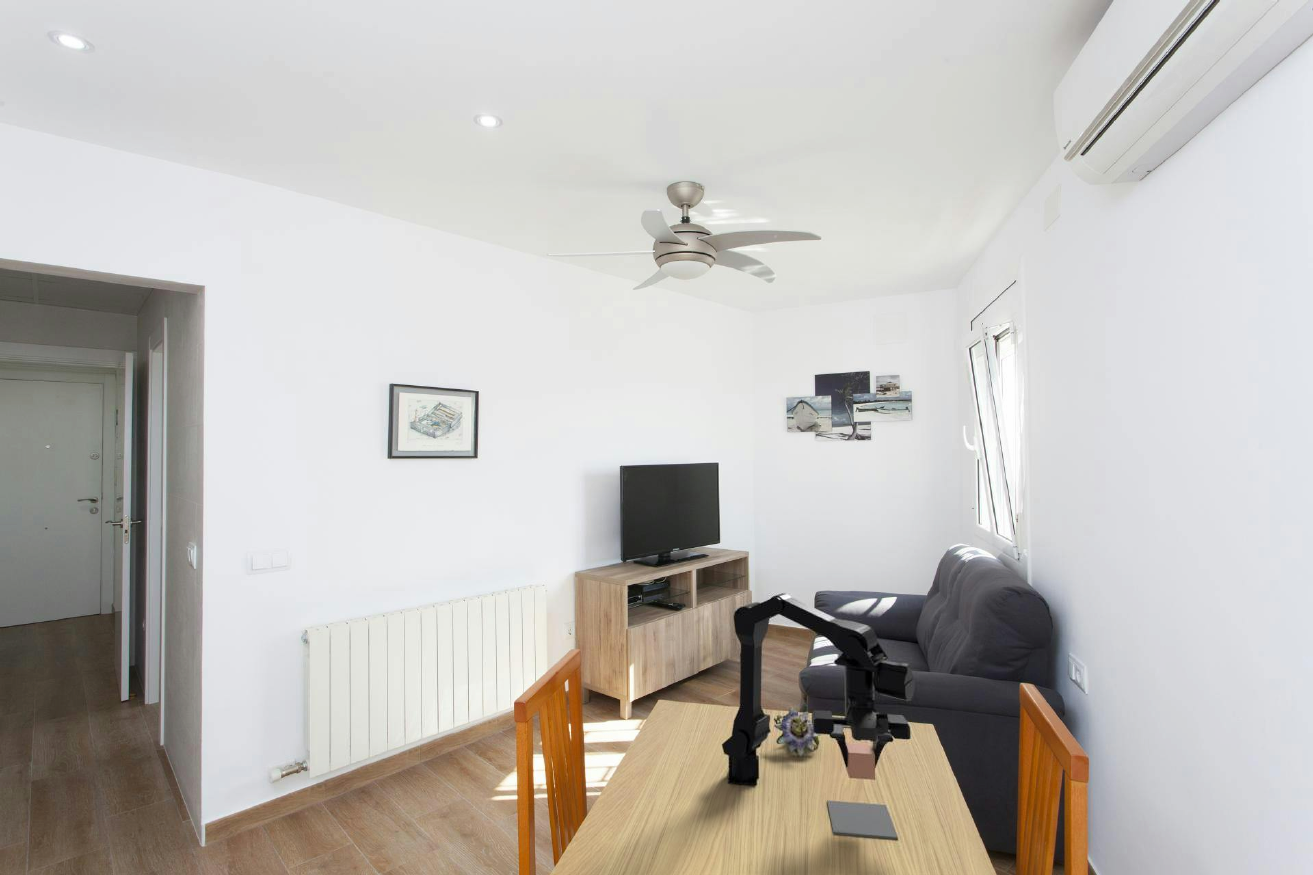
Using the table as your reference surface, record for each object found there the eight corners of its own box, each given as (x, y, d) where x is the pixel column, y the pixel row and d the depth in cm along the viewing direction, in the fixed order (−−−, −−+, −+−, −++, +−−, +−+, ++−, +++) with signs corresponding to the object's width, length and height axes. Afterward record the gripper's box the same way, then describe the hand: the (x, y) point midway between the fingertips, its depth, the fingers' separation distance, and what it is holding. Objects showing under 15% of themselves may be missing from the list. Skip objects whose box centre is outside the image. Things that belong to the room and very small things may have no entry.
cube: (849, 777, 131) (848, 752, 131) (845, 766, 136) (845, 741, 136) (875, 779, 130) (874, 754, 131) (870, 768, 135) (870, 743, 135)
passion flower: (800, 777, 162) (778, 744, 158) (779, 750, 172) (758, 718, 169) (835, 748, 164) (814, 714, 160) (812, 723, 174) (792, 691, 171)
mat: (833, 833, 128) (833, 831, 128) (827, 802, 140) (827, 800, 140) (898, 839, 126) (898, 837, 126) (885, 806, 138) (885, 804, 138)
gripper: (816, 700, 127) (816, 782, 127) (916, 706, 124) (917, 790, 124) (811, 681, 138) (811, 756, 138) (903, 686, 135) (904, 763, 135)
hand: (859, 766), depth 133 cm, fingers closed on cube, 5 cm apart
